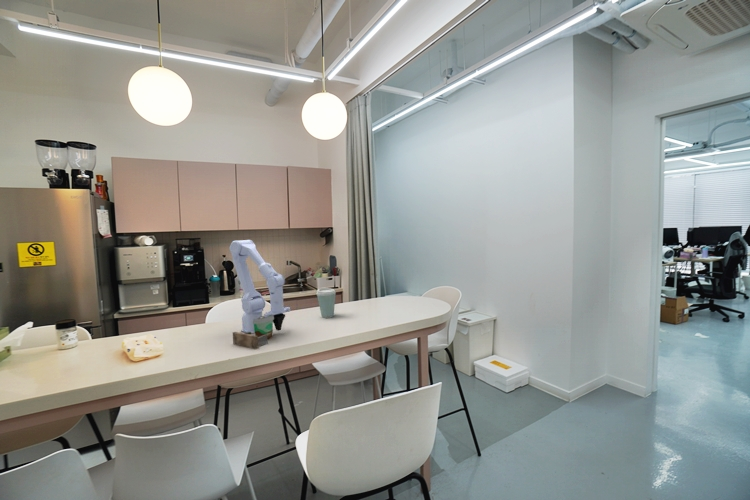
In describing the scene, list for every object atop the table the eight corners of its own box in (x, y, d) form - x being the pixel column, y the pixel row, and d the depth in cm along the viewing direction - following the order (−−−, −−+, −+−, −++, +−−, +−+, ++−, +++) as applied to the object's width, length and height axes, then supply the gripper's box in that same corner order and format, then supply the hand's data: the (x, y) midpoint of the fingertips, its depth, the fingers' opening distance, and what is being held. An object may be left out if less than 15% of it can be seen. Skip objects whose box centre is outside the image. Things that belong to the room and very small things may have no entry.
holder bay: (233, 344, 141) (232, 332, 141) (247, 338, 147) (246, 327, 147) (256, 348, 134) (255, 336, 134) (269, 343, 140) (269, 331, 140)
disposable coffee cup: (341, 315, 183) (339, 288, 182) (328, 320, 174) (326, 291, 173) (326, 313, 188) (325, 287, 187) (313, 317, 179) (311, 290, 178)
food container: (267, 342, 141) (266, 319, 141) (254, 342, 142) (252, 319, 142) (280, 333, 154) (278, 312, 153) (267, 333, 155) (266, 312, 154)
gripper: (271, 305, 145) (272, 335, 146) (294, 298, 158) (295, 326, 158) (259, 304, 148) (261, 333, 149) (283, 297, 161) (285, 325, 162)
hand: (278, 330), depth 154 cm, fingers closed
